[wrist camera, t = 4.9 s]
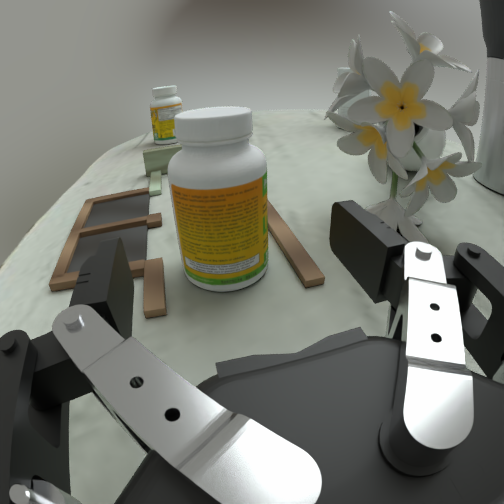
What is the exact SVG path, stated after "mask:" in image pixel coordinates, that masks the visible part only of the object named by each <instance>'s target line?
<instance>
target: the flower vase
mask: <svg viewBox="0 0 504 504" xmlns="http://www.w3.org/2000/svg"><path fill="white" fill-rule="evenodd" d="M389 12H390V15H391V16H392V18H393V20H394V21H395V22H393V21H391V22H392V24H393V25H394V26H395V28H396V29H397V30H398V32H399V33H400V35H401V37H402V38H403V41H404V43H405V45H406V48H407V50H408V52H409V54H410V55H411V57H412V63H411V64H410V66H409V67H408V68H407V69H406V71H405V72H404V74H403V76H402V78H401V82H400V83H399V81H398V78H397V76H396V75H395V74H394V72H393V71H392V70H391V69H390V67H388V66H387V65H386V64H385V63H384V62H382V61H381V60H379V59H377V58H374V57H367V58H365V59H364V57H363V53H362V46H361V41H360V35H358V39H357V45H356V43H355V41H354V39H352V42H351V44H350V48H349V53H348V64H349V67H350V69H351V70H352V71H353V72H354V73H351V72H343V73H342V74H341V75H339V77H338V78H337V80H336V81H335V84H334V87H333V92H334V93H338V96H337V98H336V99H335V101H334V102H333V103H332V105H331V106H330V108H329V110H328V111H327V112H326V116H325V118H324V120H325V119H326V118H327V117H329V118H330V120H331V121H332V122H333V123H335V124H336V125H337V126H339V127H340V128H342V129H343V130H346V131H349V132H353V131H356V132H354V133H352V134H349V135H346V136H344V137H342V138H340V139H339V140H338V141H337V146H338V147H339V149H340V150H342V151H343V152H344V153H347V154H350V155H362V154H364V153H366V152H367V151H368V150H370V149H371V150H370V152H369V155H368V164H369V167H370V170H371V172H372V174H373V176H374V177H375V179H376V180H377V181H378V182H379V183H381V184H385V183H386V182H387V160H388V164H389V166H390V168H391V169H392V184H391V193H390V198H389V199H388V200H387V201H383V202H380V203H378V204H376V205H369V206H367V209H365V210H366V211H368V212H370V213H372V214H375V215H377V216H378V217H379V218H380V219H382V220H383V221H384V223H386V224H388V225H389V226H390V228H392V229H394V230H395V231H397V224H398V227H399V230H400V233H401V234H402V235H403V236H404V237H405V238H406V239H407V240H408V241H410V242H423V243H427V244H429V242H428V240H427V239H426V238H425V237H424V235H423V234H422V233H421V232H420V230H419V229H418V228H417V227H416V226H415V225H420V224H422V221H421V220H420V219H419V218H417V217H415V216H414V215H413V214H414V213H416V212H417V211H418V210H419V209H420V208H421V207H422V206H423V205H424V204H425V202H426V200H427V198H428V195H429V190H428V186H429V189H430V191H431V193H432V194H433V196H434V197H435V198H436V200H438V201H440V202H443V203H446V202H450V201H451V200H453V199H454V198H455V196H456V194H457V188H456V185H455V183H454V182H453V180H452V179H451V178H450V176H449V175H451V176H453V177H465V176H468V175H470V174H473V173H474V172H476V171H477V170H479V169H480V168H481V167H482V163H481V162H474V151H475V150H474V139H473V135H472V133H471V131H470V130H469V128H467V127H466V126H465V125H468V126H473V125H475V124H476V122H477V120H478V117H479V109H480V107H479V103H478V101H476V88H477V84H478V76H479V70H478V71H477V72H476V74H475V76H474V77H473V79H472V81H471V82H470V84H469V86H468V87H467V89H466V90H465V92H464V93H463V94H462V96H461V97H460V98H459V99H458V100H457V102H456V103H455V104H454V105H453V106H452V107H451V108H450V109H449V110H446V109H445V108H444V107H442V106H441V105H439V104H438V103H435V102H433V101H430V100H427V99H423V100H421V99H422V98H423V96H424V95H425V94H426V92H427V91H428V89H429V88H430V85H431V83H432V81H433V78H434V67H433V66H438V67H449V68H453V69H458V70H463V71H467V72H471V73H472V71H471V70H470V68H468V67H467V66H466V65H464V64H463V63H461V62H460V61H458V60H457V59H455V58H452V57H450V56H447V55H440V56H438V54H439V53H440V52H441V51H442V49H443V44H442V42H441V41H440V40H439V39H438V38H437V37H435V36H434V35H432V34H430V33H426V32H425V33H422V34H420V36H419V37H418V39H417V40H416V37H415V33H414V31H413V29H412V28H411V27H410V26H409V25H408V23H407V22H405V21H404V20H403V19H402V18H401V17H399V16H398V15H396V14H395V13H393V12H391V11H389ZM366 90H373V91H375V92H376V93H377V94H378V95H379V96H380V97H379V96H368V97H364V98H362V99H359V100H358V101H356V102H354V103H353V104H352V105H351V106H350V107H349V109H348V110H347V116H348V117H346V116H343V115H340V114H338V113H335V111H336V110H337V109H338V108H340V107H341V106H342V105H343V104H345V103H346V102H348V101H349V100H351V99H352V98H354V97H355V96H357V95H359V94H361V93H362V92H364V91H366ZM373 124H376V126H375V125H373ZM452 126H453V128H454V130H455V132H456V133H457V135H458V137H459V139H460V140H461V142H462V145H463V147H464V150H465V153H466V156H467V159H468V162H463V161H459V160H460V159H461V157H462V153H461V152H458V153H454V154H451V155H449V156H446V157H443V158H440V157H441V156H442V154H443V151H444V148H445V145H446V133H445V130H448V129H450V128H451V127H452ZM471 161H472V162H471ZM406 170H407V171H418V172H417V174H416V175H415V177H414V178H413V179H412V180H411V181H410V183H409V184H408V185H407V186H406V187H405V188H404V189H403V190H402V191H401V193H400V197H407V196H410V195H411V194H412V195H411V198H410V200H409V203H408V205H407V207H406V210H405V209H404V208H403V207H402V206H401V205H400V204H399V203H398V202H397V201H396V194H397V184H398V176H399V177H401V178H403V179H406V180H407V179H408V174H407V172H406ZM447 173H448V174H449V175H448V174H447Z"/></svg>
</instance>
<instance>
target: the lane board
mask: <svg viewBox="0 0 504 504" xmlns="http://www.w3.org/2000/svg"><path fill="white" fill-rule="evenodd" d="M180 150H182V144H180V145H173V146H167V147H161V148H155V149H149V150H144V151H143V157H144V163H145V169H146V175H147V177H148V176H150V186H149V187H148V188H142V189H137V190H131V191H126V192H121V193H116V194H111V195H106V196H101V197H96V198H92V199H87V200H86V201H85V203H84V205H83V207H82V209H81V211H80V213H79V215H78V217H77V219H76V221H75V224H74V226H73V228H72V230H71V232H70V234H69V237H68V239H67V241H66V243H65V246H64V248H63V250H62V253H61V255H60V257H59V260H58V262H57V265H56V267H55V270H54V272H53V275H52V277H51V280H50V283H49V286H50V288H51V291H58V290H64V289H70V288H75V285H76V281H77V278H78V277H79V272H80V268H81V266H82V264H83V263H84V262H85V261H86V260H87V259H88V258H89V257H90V256H95V255H96V253H97V250H98V246H99V243H100V241H102V240H107V239H112V238H117V237H120V238H121V239H122V242H123V245H124V249H125V252H126V256H127V259H128V263H129V266H130V269H131V273H132V277H133V278H134V277H140V276H144V314H145V317H146V318H150V317H156V316H162V315H167V311H166V298H165V283H164V266H163V260H162V258H156V259H151V260H146V256H147V232H148V228H153V227H159V226H162V217H161V213H156V214H150V215H149V201H150V196H154V195H159V194H161V174H165V173H168V164H169V162H170V160H171V158H172V157H173V156H174V155H175V154H176V153H177V152H179V151H180ZM267 214H268V229H269V230H270V232H271V233H272V235H273V236H274V238H275V240H276V241H277V243H278V244H279V246H280V248H281V249H282V251H283V252H284V254H285V256H286V257H287V259H288V260H289V262H290V264H291V265H292V267H293V268H294V270H295V272H296V273H297V275H298V276H299V278H300V280H301V281H302V283H303V285H304V286H305V288H307V287H311V286H316V285H320V284H324V280H325V276H324V275H323V274H322V272H321V271H320V269H319V268H318V267H317V265H316V264H315V262H314V261H313V260H312V258H311V257H310V256H309V254H308V253H307V251H306V250H305V249H304V247H303V246H302V245H301V243H300V242H299V241H298V239H297V238H296V237H295V235H294V234H293V232H292V231H291V230H290V228H289V227H288V226H287V224H286V223H285V222H284V220H283V219H282V218H281V216H280V215H279V214H278V212H277V211H276V210H275V208H274V207H273V206H272V205H271V203H270V202H269V201H268V199H267Z"/></svg>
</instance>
